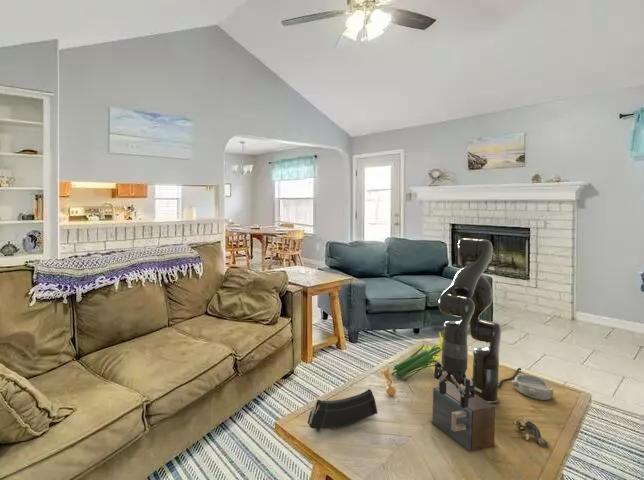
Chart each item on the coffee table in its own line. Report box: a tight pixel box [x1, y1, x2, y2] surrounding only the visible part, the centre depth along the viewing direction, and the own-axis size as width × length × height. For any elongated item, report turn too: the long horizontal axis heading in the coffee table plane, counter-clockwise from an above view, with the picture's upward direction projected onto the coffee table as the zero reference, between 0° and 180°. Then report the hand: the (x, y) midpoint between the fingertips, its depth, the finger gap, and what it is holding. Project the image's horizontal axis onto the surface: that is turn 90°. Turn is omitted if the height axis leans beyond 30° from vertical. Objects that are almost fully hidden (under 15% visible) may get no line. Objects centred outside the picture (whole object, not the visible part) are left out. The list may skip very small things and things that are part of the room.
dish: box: [510, 373, 554, 401], centre depth 165 cm, size 14×14×5 cm
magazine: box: [307, 388, 379, 432], centre depth 142 cm, size 17×3×30 cm
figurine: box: [380, 368, 397, 397], centre depth 161 cm, size 8×6×12 cm
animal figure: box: [511, 418, 549, 448], centre depth 134 cm, size 8×7×9 cm
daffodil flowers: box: [391, 331, 443, 381], centre depth 182 cm, size 17×15×35 cm
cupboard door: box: [431, 386, 472, 452], centre depth 134 cm, size 6×16×14 cm, turn 15°
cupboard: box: [435, 383, 497, 451], centre depth 136 cm, size 10×16×14 cm, turn 15°
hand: (452, 400), depth 127 cm, fingers open, 8 cm apart
